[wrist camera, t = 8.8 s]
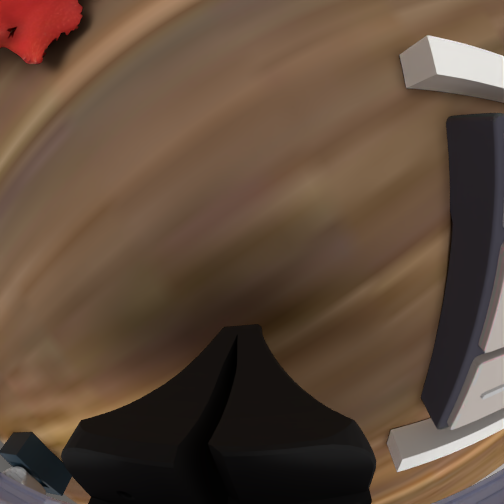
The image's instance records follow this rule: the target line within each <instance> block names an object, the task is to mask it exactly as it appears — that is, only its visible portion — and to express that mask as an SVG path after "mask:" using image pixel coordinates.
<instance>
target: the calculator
mask: <svg viewBox="0 0 504 504" xmlns="http://www.w3.org/2000/svg"><path fill="white" fill-rule="evenodd" d="M446 128H447V139H448V152H449V170H450V213H451V217H452V222H453V229H452V241H451V251H450V260H449V268H448V276H447V282H446V289H445V295H444V300H443V306H442V311H441V316H440V321H439V326H438V330H437V335H436V340H435V345H434V349H433V354H432V358H431V362H430V366H429V370H428V374H427V377H426V381H425V384H424V388H423V391H422V395H421V399H422V401H423V403H424V405H425V407H426V409H427V411H428V413H429V415H430V417H431V419H432V421H433V423H434V424H435V426H436V428H437V429H438V430H441V429H444V428H447V427H449V428H450V429H451V430H453V429H456V428H459V427H462V426H464V425H467V424H469V423H471V422H474V421H476V420H478V419H481V418H483V417H485V416H487V415H489V414H492V413H494V412H496V411H498V410H500V409H502V408H504V114H502V113H483V114H469V115H456V116H450V117H449V118H448V119H447V122H446Z"/></svg>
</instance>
